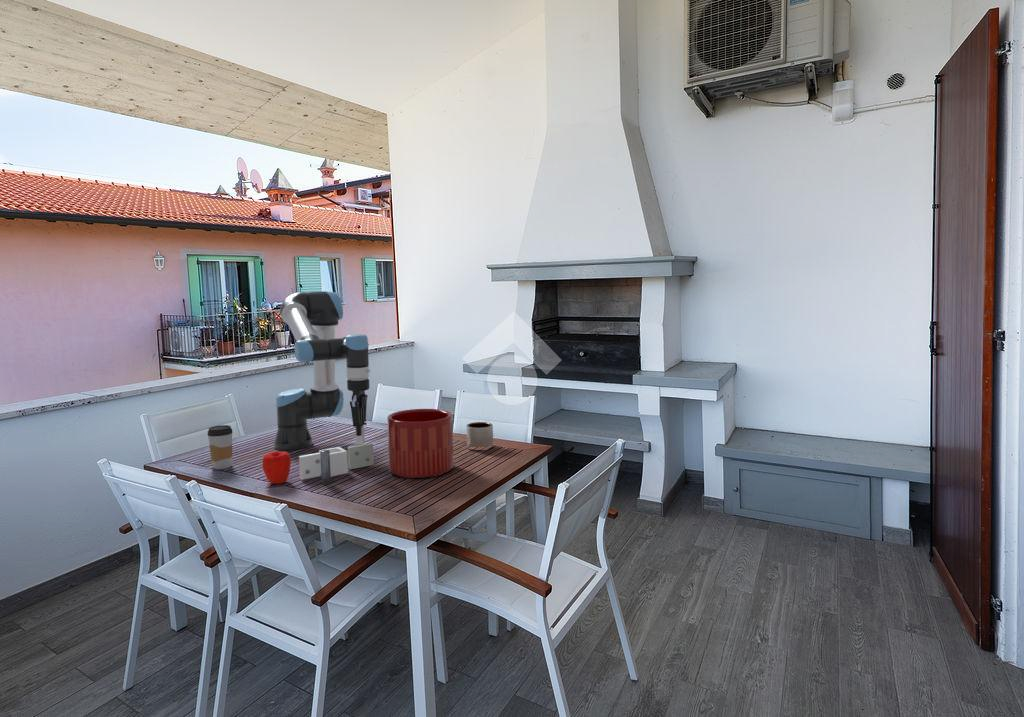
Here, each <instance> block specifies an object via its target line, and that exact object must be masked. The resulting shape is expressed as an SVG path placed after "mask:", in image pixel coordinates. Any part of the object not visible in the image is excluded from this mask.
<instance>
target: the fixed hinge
mask: <svg viewBox="0 0 1024 717" xmlns="http://www.w3.org/2000/svg"><path fill="white" fill-rule="evenodd" d="M321 450H322V449H321ZM321 450H320V449H319V450H318V452H315V453H309V454H304V455H299V456H298V463H299V464H298V466H299V479H300V480H301V481H302V480H307V479H313V478H318V477H321V459H320V451H321ZM323 450H329V452H330V472H331V477H336V476H341V475H345V474H348V473H349V467H348V450H345V449H344V448H342V447H341V446H336V447H330V448H324V449H323Z"/></svg>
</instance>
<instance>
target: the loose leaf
mask: <svg viewBox="0 0 1024 717" xmlns="http://www.w3.org/2000/svg"><path fill="white" fill-rule="evenodd" d="M374 460H375V459H374V443H372V442H369V443H364V444H355V445H352V446H347V462H348V470H353V469H360V468H365V467H369V466H374V465H375V463H374V462H375V461H374Z"/></svg>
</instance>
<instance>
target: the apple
mask: <svg viewBox="0 0 1024 717" xmlns="http://www.w3.org/2000/svg"><path fill="white" fill-rule="evenodd" d="M291 461H292V460H291V455H290V453H289V452H287V451H283V450H280V451H279V450H278V451H272V452H269V453H266V454H265V455H264V456H263V458H262V470H263V473H264V475H265V478H266V479H267V481H268V482H269V483H270V484H274V485H275V484H277V485H278V484H283V483H285V482H287V480H288V479H289V477H290V476H289V475H290V471H291V463H292V462H291Z"/></svg>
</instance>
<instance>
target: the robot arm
mask: <svg viewBox="0 0 1024 717" xmlns="http://www.w3.org/2000/svg"><path fill="white" fill-rule="evenodd" d="M279 312H280V314H279V315H280V317H281V319H282V320H283V322H284V323H285V324H286V325H288V327H289V329H290V332H291V333H292V335H293V338H294V339H295V343H294V355H295V359H296V360H297V361H298V362H306V363H307V362H309V363H310V362H313V384H311V385H310V387H309V388H310V389H309V390H310V391H306V389H305V388H295V389H289V390H285V391H282V392H280V393H278V394H277V396H276V397H275V407H276V420H277V421H276V422H277V429H276V434H275V438H274V440H273V446H274V449H276V450H278V451H279V450H280V451H289V450H290V451H292V450H299V449H305V448H308V447H310V446H312V445H313V437H312V434H311V432H310V430H309V428H308V420H313V419H323V418H331V417H336V416H339V415H340V414H341V413H342V411H343V408H344V400H345V398H344V392H343V390H342V389H341V388H340V386H339V384H338V383H336V360H346V361H345V362H346V378H347V380H346V382H347V383H346V385H347V387H346V388H347V390H348V391H350V392H352V394H351V400H350V401H349V405H350V410H351V419H352V427H354V428H355V445H362V444H366V443H365V440H366V439H365V426H367V422H366V421H367V404H368V403H367V402H368V394H366V391H368V390H369V389H370V379H369V377H370V372H371V369H370V366H369V365H370V364H369V358H370V357H369V345H370V344H369V340H368V336H367V335H366V334H361V333H358V334H357V333H354V334H347V335H346V336H343V337H340V338H337V337H336V336H335V335H336V334H335V333H336V331H335V329H336V327H338V325H339V321H341V320H342V319H343V318H344V308H343V303H342V300H341V297H340V296H339V294H337V292H334V291H298V292H295V293H292V294H290V295H288V296H287V297H285V299H284V300H283V301H282V303H281V306H280V308H279Z"/></svg>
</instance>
